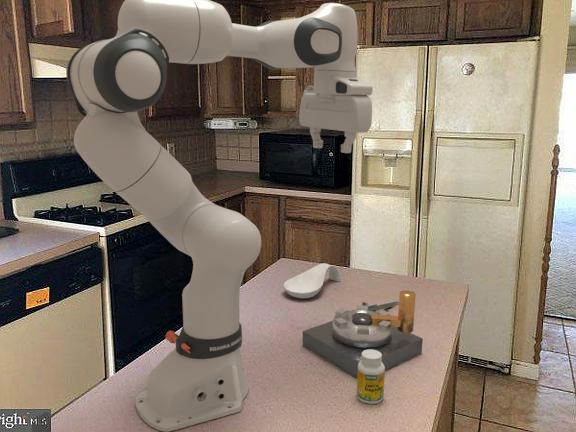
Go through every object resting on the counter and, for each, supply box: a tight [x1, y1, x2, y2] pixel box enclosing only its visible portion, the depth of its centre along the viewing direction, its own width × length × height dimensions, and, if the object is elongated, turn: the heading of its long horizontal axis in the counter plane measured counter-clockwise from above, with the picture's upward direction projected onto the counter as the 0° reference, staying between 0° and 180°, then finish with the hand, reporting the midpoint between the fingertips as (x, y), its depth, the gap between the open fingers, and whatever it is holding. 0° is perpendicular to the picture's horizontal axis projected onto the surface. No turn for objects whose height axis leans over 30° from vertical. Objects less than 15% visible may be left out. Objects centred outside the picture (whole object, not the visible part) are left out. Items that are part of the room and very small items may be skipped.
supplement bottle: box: [356, 349, 386, 405], centre depth 103 cm, size 5×5×10 cm
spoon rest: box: [282, 263, 342, 300], centre depth 161 cm, size 24×12×7 cm, turn 142°
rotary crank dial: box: [332, 290, 417, 348], centre depth 121 cm, size 19×14×11 cm
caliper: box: [361, 299, 399, 312], centre depth 144 cm, size 20×1×6 cm, turn 139°
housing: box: [302, 320, 424, 379], centre depth 123 cm, size 20×20×4 cm
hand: (331, 150), depth 113 cm, fingers open, 8 cm apart
